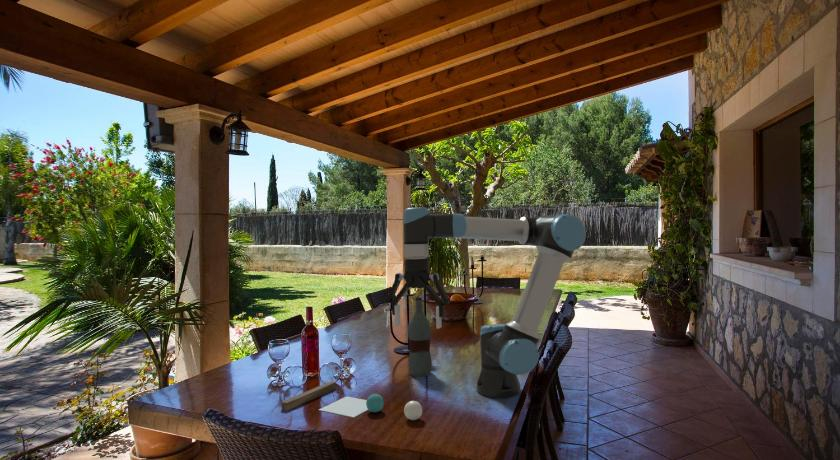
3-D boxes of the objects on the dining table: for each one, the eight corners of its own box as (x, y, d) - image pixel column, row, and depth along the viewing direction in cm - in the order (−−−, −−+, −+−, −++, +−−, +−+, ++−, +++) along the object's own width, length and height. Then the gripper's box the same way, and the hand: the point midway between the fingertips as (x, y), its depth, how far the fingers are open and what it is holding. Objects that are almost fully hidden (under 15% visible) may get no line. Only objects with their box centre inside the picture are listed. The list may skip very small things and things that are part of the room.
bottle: (429, 377, 194) (427, 299, 194) (406, 376, 196) (404, 299, 196) (433, 370, 203) (432, 295, 203) (411, 369, 205) (409, 295, 205)
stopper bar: (335, 389, 183) (335, 382, 183) (287, 410, 162) (287, 403, 162) (330, 388, 184) (330, 381, 184) (281, 409, 163) (281, 401, 163)
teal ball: (387, 410, 160) (386, 393, 160) (377, 416, 156) (376, 398, 156) (373, 407, 163) (372, 390, 163) (362, 413, 158) (362, 395, 158)
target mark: (380, 403, 167) (380, 402, 167) (353, 417, 155) (353, 417, 155) (346, 396, 174) (346, 396, 174) (318, 410, 162) (318, 409, 162)
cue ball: (425, 417, 153) (425, 399, 153) (416, 424, 149) (416, 405, 149) (410, 414, 156) (409, 397, 156) (400, 421, 151) (400, 402, 151)
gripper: (458, 257, 156) (460, 326, 156) (384, 257, 164) (386, 322, 164) (451, 258, 148) (453, 331, 149) (374, 258, 157) (376, 327, 157)
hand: (418, 326), depth 157 cm, fingers open, 13 cm apart
